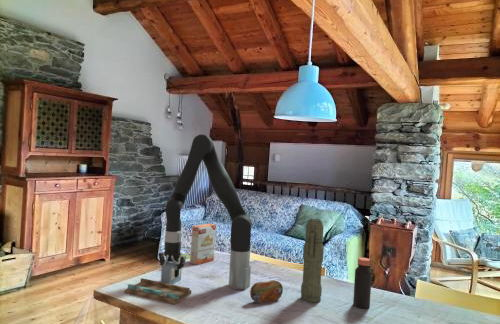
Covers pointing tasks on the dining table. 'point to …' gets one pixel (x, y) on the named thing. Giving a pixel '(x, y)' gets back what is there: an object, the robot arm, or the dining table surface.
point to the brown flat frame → (158, 291)
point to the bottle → (362, 284)
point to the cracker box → (202, 243)
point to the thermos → (312, 262)
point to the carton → (169, 273)
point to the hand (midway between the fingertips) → (171, 275)
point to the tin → (266, 291)
